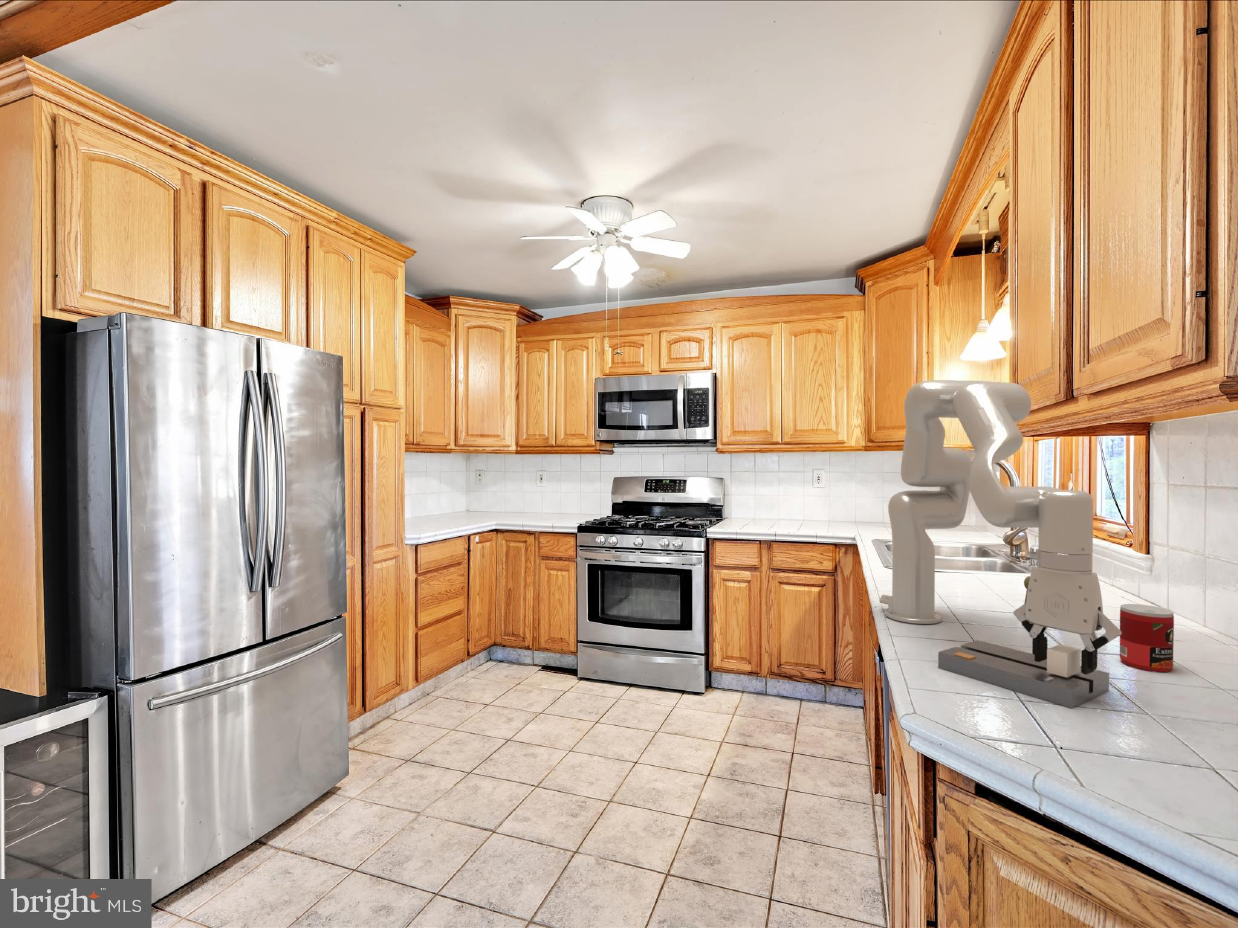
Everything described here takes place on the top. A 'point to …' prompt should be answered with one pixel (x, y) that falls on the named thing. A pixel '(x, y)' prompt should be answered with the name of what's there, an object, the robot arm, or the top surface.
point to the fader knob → (1063, 660)
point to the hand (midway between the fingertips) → (1063, 665)
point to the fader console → (1022, 673)
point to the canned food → (1146, 637)
